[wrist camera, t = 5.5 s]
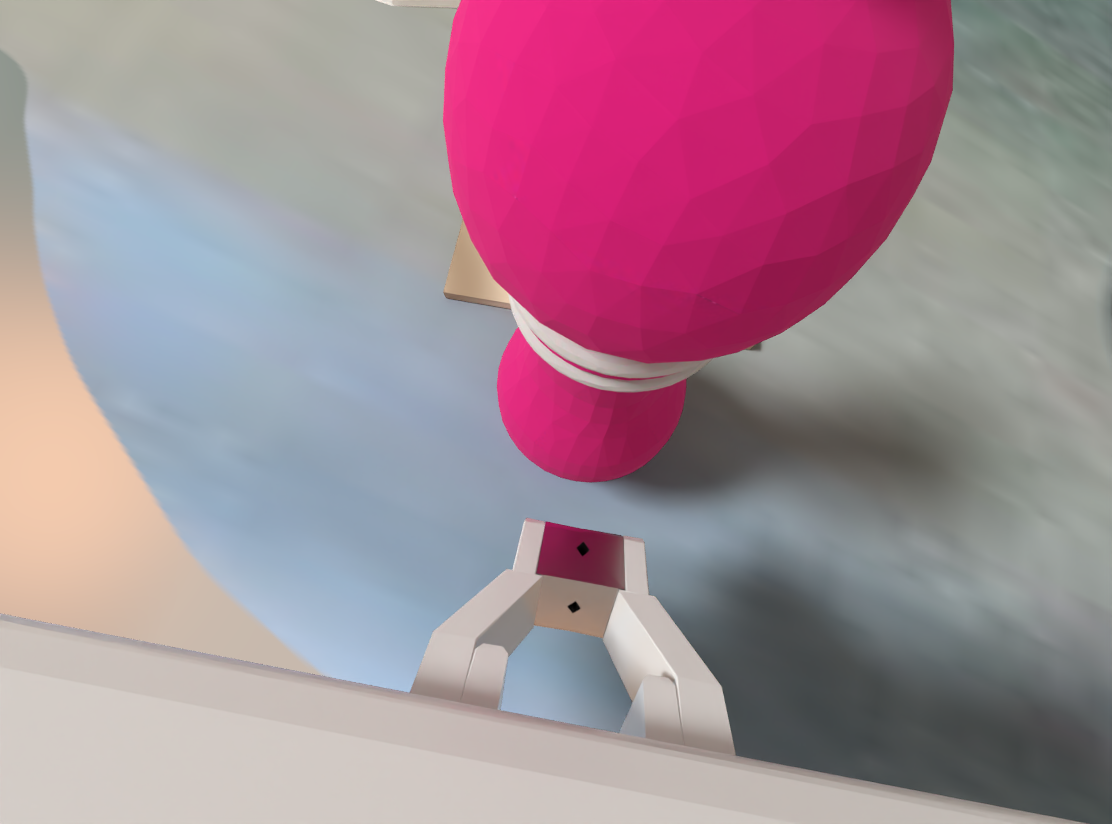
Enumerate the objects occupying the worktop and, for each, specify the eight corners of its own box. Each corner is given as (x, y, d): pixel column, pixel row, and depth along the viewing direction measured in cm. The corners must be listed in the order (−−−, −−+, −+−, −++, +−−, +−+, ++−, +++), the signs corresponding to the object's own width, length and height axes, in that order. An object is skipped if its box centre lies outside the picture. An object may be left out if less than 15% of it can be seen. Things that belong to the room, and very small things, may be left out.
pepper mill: (682, 404, 22) (1895, -642, 2) (595, 521, 20) (1933, 554, 1) (567, 320, 23) (693, -913, 3) (477, 427, 21) (-333, -646, 2)
